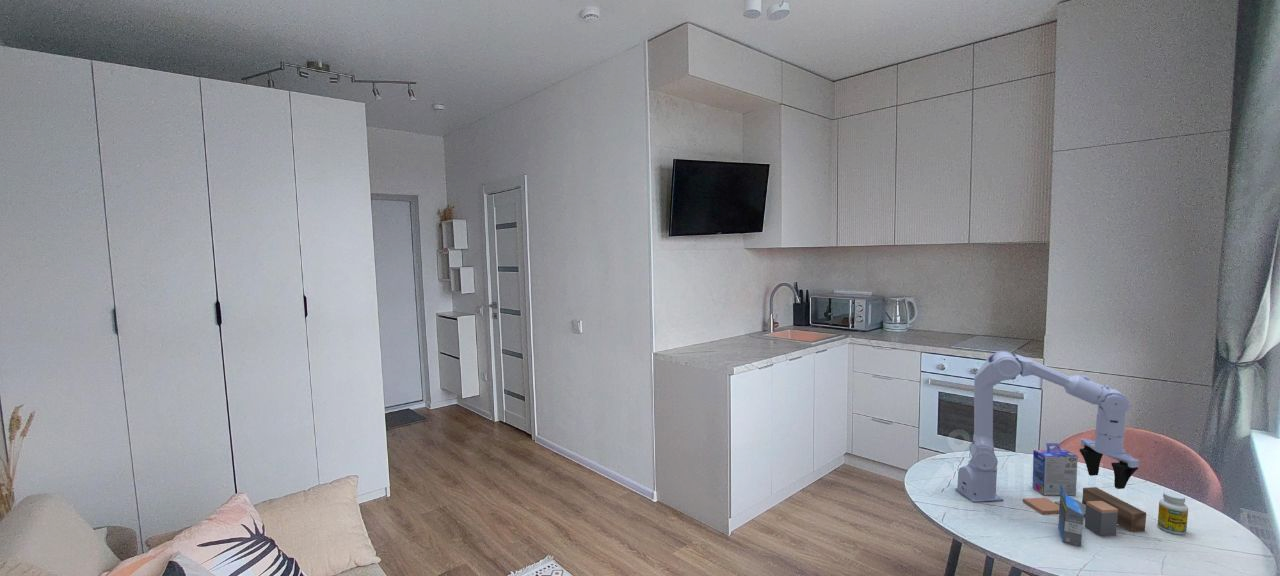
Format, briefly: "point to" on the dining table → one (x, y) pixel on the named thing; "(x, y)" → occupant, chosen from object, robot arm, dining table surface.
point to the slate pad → (1082, 506)
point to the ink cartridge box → (1054, 471)
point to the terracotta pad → (1042, 505)
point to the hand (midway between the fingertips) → (1106, 481)
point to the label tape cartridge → (1070, 519)
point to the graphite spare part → (1101, 518)
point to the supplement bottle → (1173, 513)
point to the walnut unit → (1127, 513)
